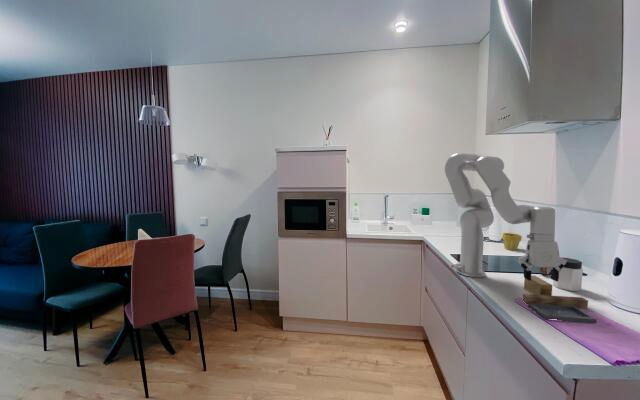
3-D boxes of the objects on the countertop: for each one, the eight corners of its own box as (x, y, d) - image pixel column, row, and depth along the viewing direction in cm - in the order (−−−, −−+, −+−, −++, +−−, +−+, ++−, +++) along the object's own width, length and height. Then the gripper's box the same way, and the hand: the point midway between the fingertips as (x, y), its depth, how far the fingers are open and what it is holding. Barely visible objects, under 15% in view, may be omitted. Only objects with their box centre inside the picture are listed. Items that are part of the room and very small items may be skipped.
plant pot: (524, 250, 170) (525, 235, 169) (511, 251, 168) (512, 236, 167) (509, 246, 180) (510, 232, 179) (497, 247, 178) (498, 233, 177)
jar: (566, 283, 118) (568, 256, 117) (586, 290, 110) (588, 262, 109) (547, 283, 117) (550, 257, 116) (566, 291, 109) (569, 263, 108)
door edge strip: (526, 304, 98) (527, 296, 98) (522, 301, 100) (522, 293, 100) (587, 308, 95) (588, 300, 95) (581, 305, 97) (582, 297, 97)
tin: (547, 268, 136) (548, 253, 136) (555, 270, 134) (556, 254, 133) (538, 275, 127) (540, 258, 127) (547, 277, 125) (548, 260, 124)
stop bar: (539, 299, 102) (540, 284, 102) (523, 288, 112) (524, 275, 112) (551, 300, 102) (552, 285, 101) (534, 289, 112) (535, 275, 111)
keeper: (545, 320, 87) (545, 315, 87) (528, 306, 96) (528, 302, 96) (596, 323, 85) (597, 319, 85) (574, 309, 94) (574, 305, 94)
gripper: (523, 239, 102) (523, 282, 103) (574, 239, 100) (572, 284, 101) (512, 235, 110) (512, 276, 111) (559, 236, 107) (558, 277, 108)
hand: (540, 279), depth 106 cm, fingers open, 9 cm apart
